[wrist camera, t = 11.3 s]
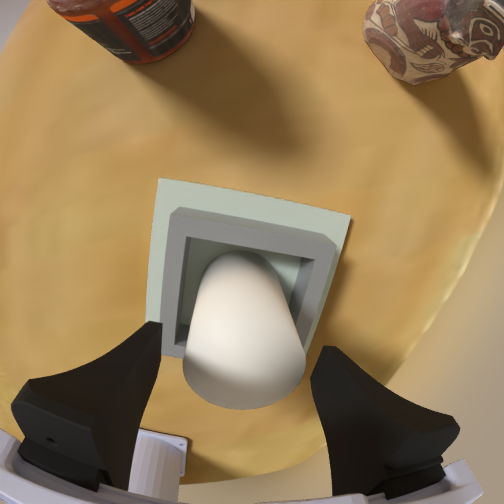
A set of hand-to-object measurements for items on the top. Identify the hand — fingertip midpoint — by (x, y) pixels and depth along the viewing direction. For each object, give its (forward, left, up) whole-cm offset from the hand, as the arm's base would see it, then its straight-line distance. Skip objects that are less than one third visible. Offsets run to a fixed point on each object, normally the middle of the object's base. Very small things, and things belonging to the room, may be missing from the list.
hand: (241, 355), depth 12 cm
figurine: (+20, -8, -8) cm, 23 cm away
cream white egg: (0, 0, -7) cm, 7 cm away
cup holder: (0, 0, -8) cm, 8 cm away
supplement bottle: (+16, +9, -8) cm, 20 cm away
